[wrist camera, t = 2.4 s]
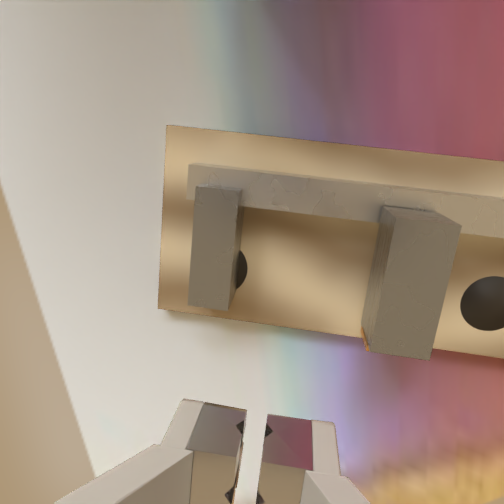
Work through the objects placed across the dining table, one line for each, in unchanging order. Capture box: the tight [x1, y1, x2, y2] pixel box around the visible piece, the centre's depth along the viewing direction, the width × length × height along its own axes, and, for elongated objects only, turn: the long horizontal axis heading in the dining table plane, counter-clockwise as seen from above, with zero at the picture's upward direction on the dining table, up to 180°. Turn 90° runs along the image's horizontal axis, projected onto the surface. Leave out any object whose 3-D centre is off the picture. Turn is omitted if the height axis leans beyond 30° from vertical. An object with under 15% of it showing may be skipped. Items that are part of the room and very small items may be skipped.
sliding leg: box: [360, 206, 462, 361], centre depth 24 cm, size 7×3×6 cm, turn 174°
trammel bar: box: [186, 162, 504, 311], centre depth 25 cm, size 8×22×3 cm, turn 84°
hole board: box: [158, 125, 504, 359], centre depth 27 cm, size 12×26×1 cm, turn 84°
